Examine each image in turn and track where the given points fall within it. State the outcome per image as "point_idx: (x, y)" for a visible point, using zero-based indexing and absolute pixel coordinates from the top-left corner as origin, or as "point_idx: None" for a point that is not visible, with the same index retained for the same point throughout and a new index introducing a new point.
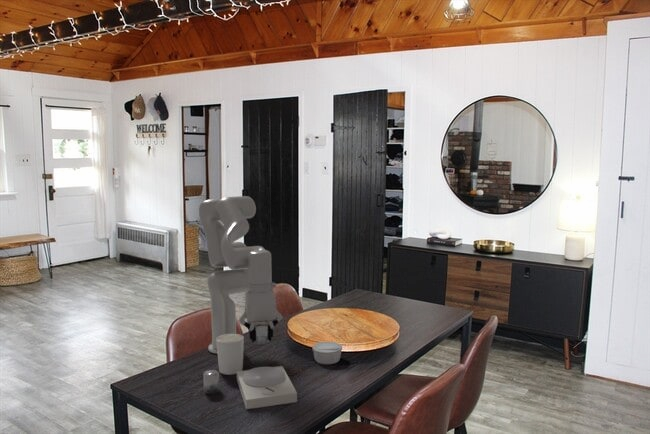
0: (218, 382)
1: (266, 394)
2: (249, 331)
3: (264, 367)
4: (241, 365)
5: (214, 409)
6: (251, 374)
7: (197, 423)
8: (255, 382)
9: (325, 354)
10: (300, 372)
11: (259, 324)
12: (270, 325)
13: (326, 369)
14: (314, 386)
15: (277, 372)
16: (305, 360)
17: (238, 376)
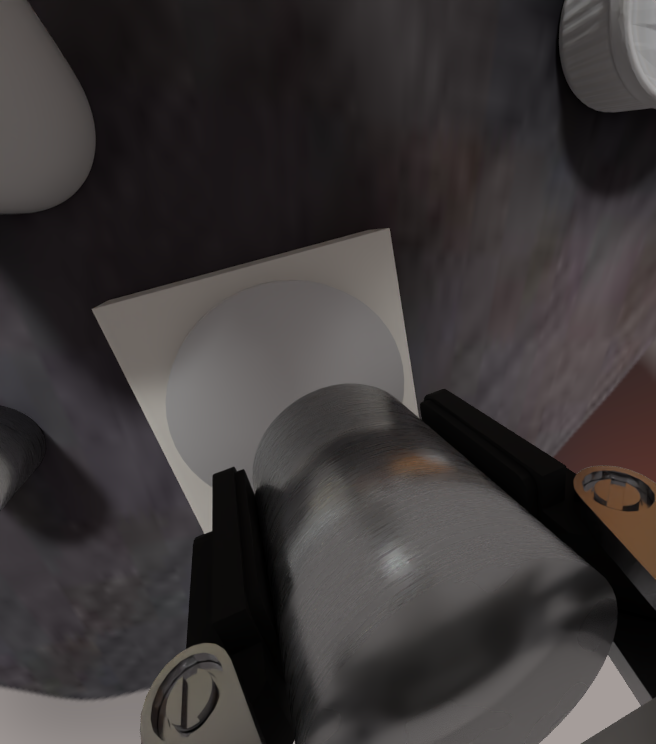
0: (21, 477)
1: None
2: (191, 633)
3: (289, 294)
4: (84, 148)
5: (99, 594)
6: (220, 399)
7: (69, 684)
8: None
9: (648, 105)
10: (457, 211)
11: (441, 722)
12: (613, 643)
13: (572, 183)
14: (488, 368)
15: (368, 366)
16: (507, 9)
17: (131, 386)
